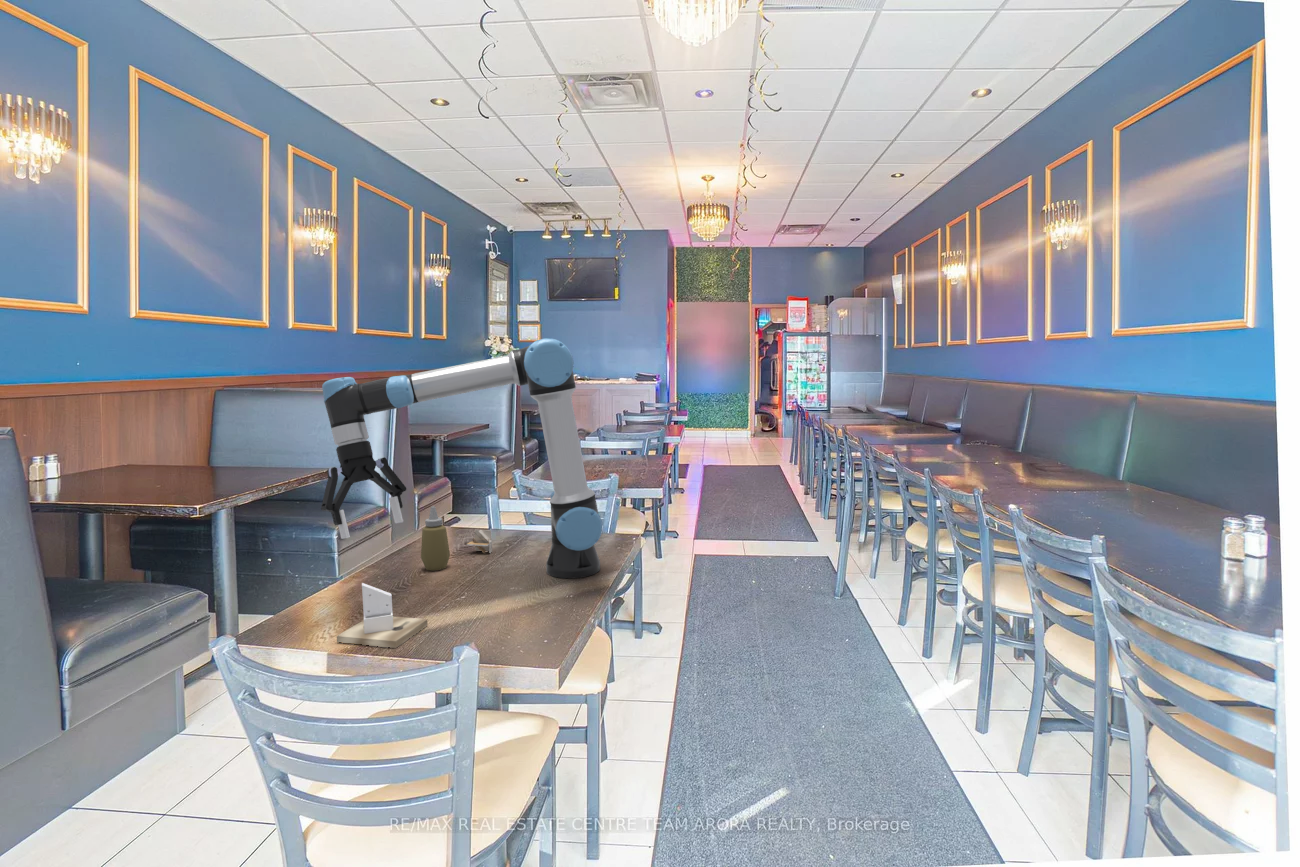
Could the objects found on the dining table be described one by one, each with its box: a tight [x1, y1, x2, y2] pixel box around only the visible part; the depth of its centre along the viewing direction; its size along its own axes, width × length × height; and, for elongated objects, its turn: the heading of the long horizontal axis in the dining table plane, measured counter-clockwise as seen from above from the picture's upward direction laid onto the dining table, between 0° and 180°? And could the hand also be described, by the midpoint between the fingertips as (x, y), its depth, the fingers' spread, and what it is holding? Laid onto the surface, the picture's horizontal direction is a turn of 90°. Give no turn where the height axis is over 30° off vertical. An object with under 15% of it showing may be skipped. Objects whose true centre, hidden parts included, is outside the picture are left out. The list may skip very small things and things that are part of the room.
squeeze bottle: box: [420, 506, 451, 571], centre depth 189 cm, size 8×8×18 cm
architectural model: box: [466, 529, 493, 554], centre depth 204 cm, size 3×7×7 cm, turn 78°
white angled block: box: [361, 582, 394, 634], centre depth 142 cm, size 4×10×9 cm, turn 112°
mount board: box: [336, 616, 429, 649], centre depth 143 cm, size 14×12×2 cm
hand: (373, 530), depth 156 cm, fingers open, 13 cm apart
